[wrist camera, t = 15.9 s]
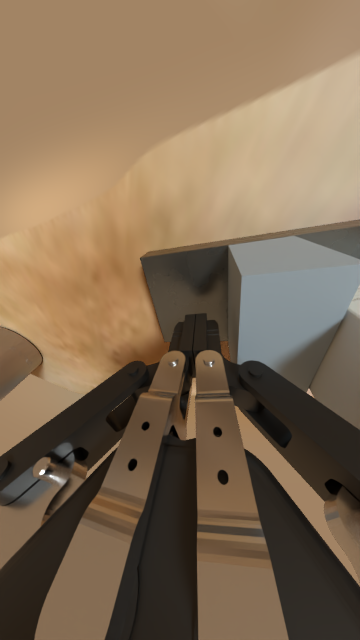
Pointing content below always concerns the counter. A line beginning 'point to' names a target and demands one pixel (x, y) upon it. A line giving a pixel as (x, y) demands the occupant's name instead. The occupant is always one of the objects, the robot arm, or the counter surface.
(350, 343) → the small box
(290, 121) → the counter surface
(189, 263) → the vise bed
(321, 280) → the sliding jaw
